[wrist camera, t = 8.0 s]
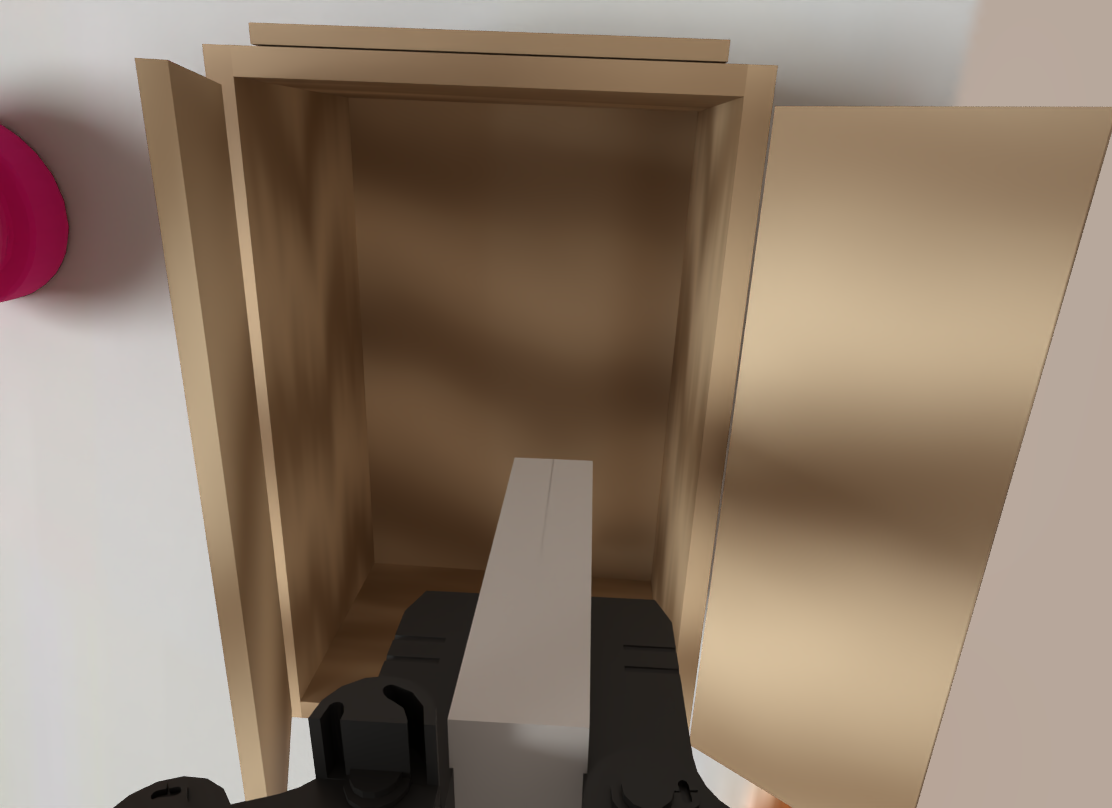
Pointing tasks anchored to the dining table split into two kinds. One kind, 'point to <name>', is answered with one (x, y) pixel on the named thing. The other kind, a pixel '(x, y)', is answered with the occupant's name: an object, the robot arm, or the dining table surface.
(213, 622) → the dining table surface
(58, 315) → the dining table surface
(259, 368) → the carton
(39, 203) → the pepper mill
